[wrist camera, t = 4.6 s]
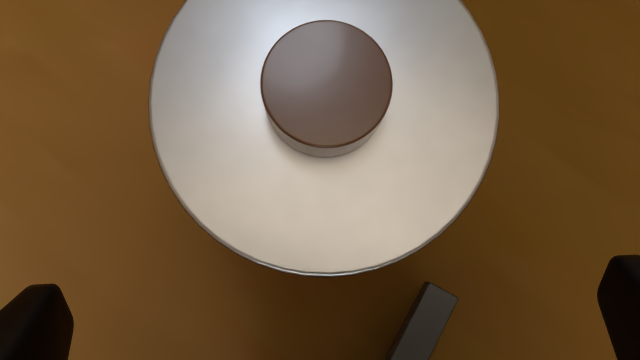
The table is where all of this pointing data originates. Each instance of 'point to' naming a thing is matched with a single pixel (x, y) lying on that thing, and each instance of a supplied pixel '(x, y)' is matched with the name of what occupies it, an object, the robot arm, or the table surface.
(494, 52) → the table surface
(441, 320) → the pan handle
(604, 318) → the robot arm
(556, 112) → the table surface
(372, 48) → the light grey round piece
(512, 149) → the table surface
